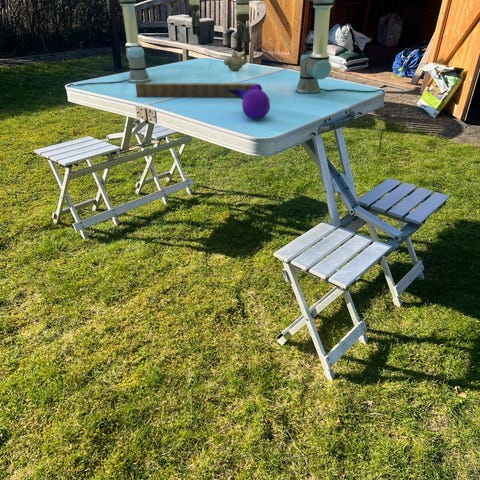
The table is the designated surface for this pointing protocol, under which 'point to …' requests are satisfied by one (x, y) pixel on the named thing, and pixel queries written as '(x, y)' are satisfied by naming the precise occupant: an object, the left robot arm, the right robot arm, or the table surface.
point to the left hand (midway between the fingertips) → (196, 35)
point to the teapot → (235, 61)
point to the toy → (254, 102)
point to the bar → (190, 89)
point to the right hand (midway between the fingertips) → (243, 53)
